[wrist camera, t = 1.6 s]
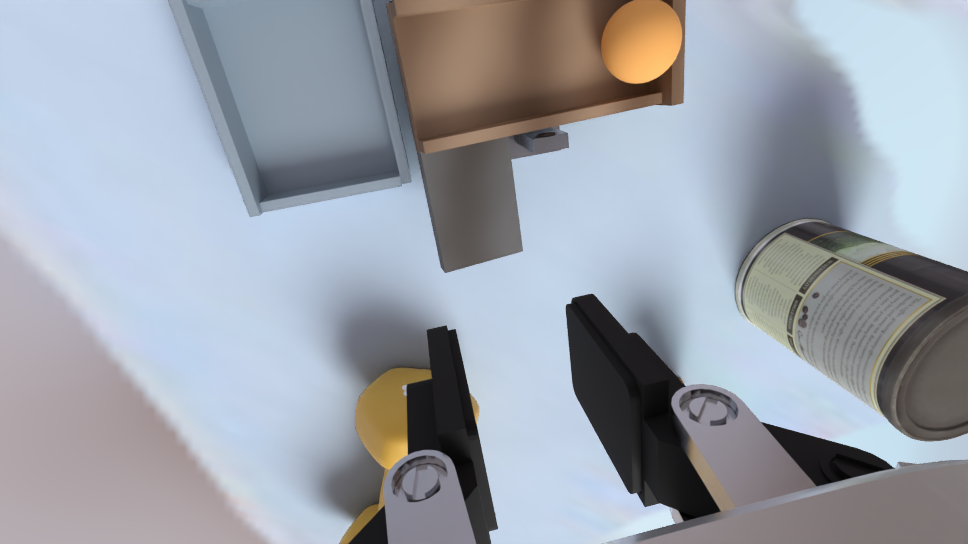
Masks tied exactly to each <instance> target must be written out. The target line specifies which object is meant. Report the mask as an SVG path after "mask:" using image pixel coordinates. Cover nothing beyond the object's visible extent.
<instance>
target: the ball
mask: <svg viewBox="0 0 968 544" xmlns="http://www.w3.org/2000/svg"><path fill="white" fill-rule="evenodd" d="M681 42H682V27H681V23H680V20H679V18H678V16H677V14H676V12H675V11H674V10H673V9H672V8H671V7H670V6H669V5H668V4H667V3H665V2H663V1H661V0H633V1H631V2H629V3H627V4H625V5H623V6H622V7H621V8H620V9H618V10H617V11H616V12H615V13H614V14H613V16H612V17H611V18H610V20H609V21H608V23H607V25H606V27H605V29H604V32H603V36H602V41H601V53H602V58H603V61H604V63H605V65H606V67H607V69H608V70H609V71H610V73H611V74H612V75H614V76H615V77H616V78H618V79H619V80H621V81H624V82H627V83H634V84H638V83H645V82H649V81H651V80H653V79H656V78H657V77H659V76H660V75H662V74H663V73H664V72H665V71H666V70H667V69H668V68H669V67H670V66H671V65H672V64H673V62H674V61H675V59H676V57H677V55H678V53H679V50H680V47H681Z"/></svg>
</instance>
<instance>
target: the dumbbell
mask: <svg viewBox="0 0 968 544" xmlns="http://www.w3.org/2000/svg"><path fill="white" fill-rule="evenodd" d="M427 379H432V375H431V370H428V369H416V368H393V369H390V370H388V371H386V372H385V373H383V374H382V375H381V376H379V377H378V378H377V379H376V380H375V381H374V382H373V383H372V384H370V385H369V386H368V387H367V388H366V389H365V390H364V392H363V393H362V394H361V395H360V397H359V399H358V402H357V406H356V412H355V428H356V430H357V433H358V435H359V437H360V439H361V441H362V443H363V444H364V446H365V447H366V449H367V450H368V452H369V453H370V454H371V455H372V457H373V458H374V459H375V460H376V461H377V462H378V463H379V464H380V465H381V466H383V467H384V468H385V471H384V475H383V480H382V485H381V491H380V498H379V504H374V505H370V506H369V507H367V508H366V509H365V510H364V511H363V512H362V513H361V514H360V515H359V516H358V517H357V518H356V520H355V521H354V522H353V523H352V525H351V526H350V527H349V529H348V530H347V532H346V533H345V534H344V536H343V537H342V539H341V541H340V543H339V544H348V543H349V542H350V541H351V540H352V539H353V538H354V537H355V536H356V535H357V534H358V533H359V532H360V530H361V529H362V528H363V527H364V526H365V525H366V524H367V523H368V522H369V521H370V520H371V519H372V518H373V517H374V516H375V515H376V513H377V512H378V511H379V510H380V509H381V508H382V507H383V506H384V505H385V501H384V490H383V489H384V480H385V478H386V476H387V474H388V472H389V470H390V469H391V468H392V467H393V466H394V464H395V463H396V462H398V461H399V460H400V459H402V458H403V457H405V456H407V455H408V442H407V393H406V388H407V384H410V383H414V382H419V381H423V380H427ZM470 397H471V402H472V407H473V411H474V416H475V420H476V425H477V421H478V417H479V406H478V404H477V401H476V400H475V399H474V397H473V396H472V395H471V394H470Z"/></svg>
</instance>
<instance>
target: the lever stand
mask: <svg viewBox="0 0 968 544" xmlns="http://www.w3.org/2000/svg"><path fill="white" fill-rule="evenodd" d="M508 138H509V146H510V154H511V159H516V158H521V157H526V156H532V155H537V154H542V153H547V152H553V151H558V150H561V149H564V148H569V143H568V133H566V132H563V131H560V129H559V126H554V127H549V128H545V129H540V130H535V131H531V132H526V133H521V134H517V135H512V136H508Z"/></svg>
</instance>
